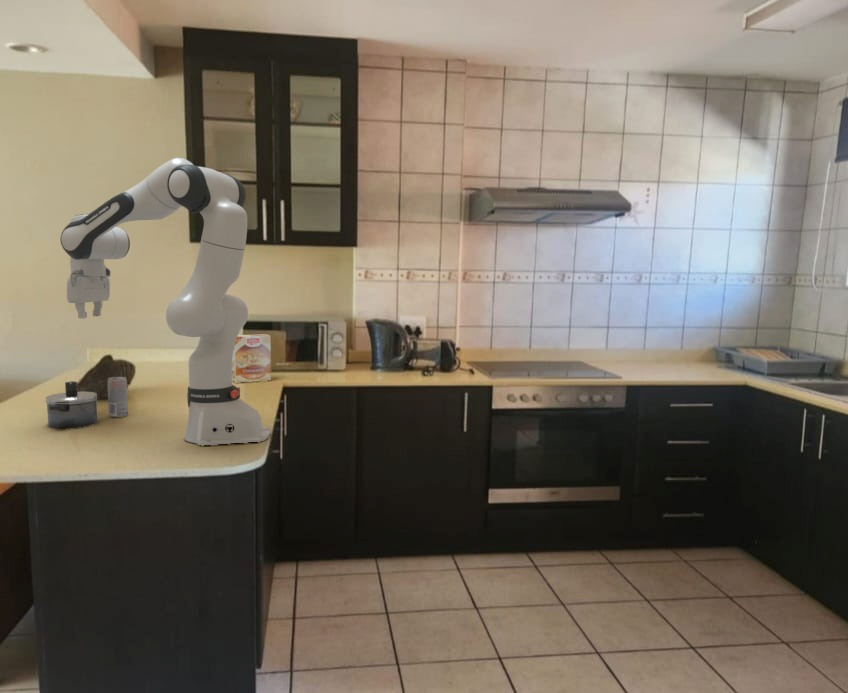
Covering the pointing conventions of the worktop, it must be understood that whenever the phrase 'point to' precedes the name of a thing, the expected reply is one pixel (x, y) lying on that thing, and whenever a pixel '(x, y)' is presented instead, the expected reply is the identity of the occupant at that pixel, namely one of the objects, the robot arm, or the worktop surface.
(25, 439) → the worktop surface
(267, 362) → the coffeecake box
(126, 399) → the energy drink
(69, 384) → the lid
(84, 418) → the pot
